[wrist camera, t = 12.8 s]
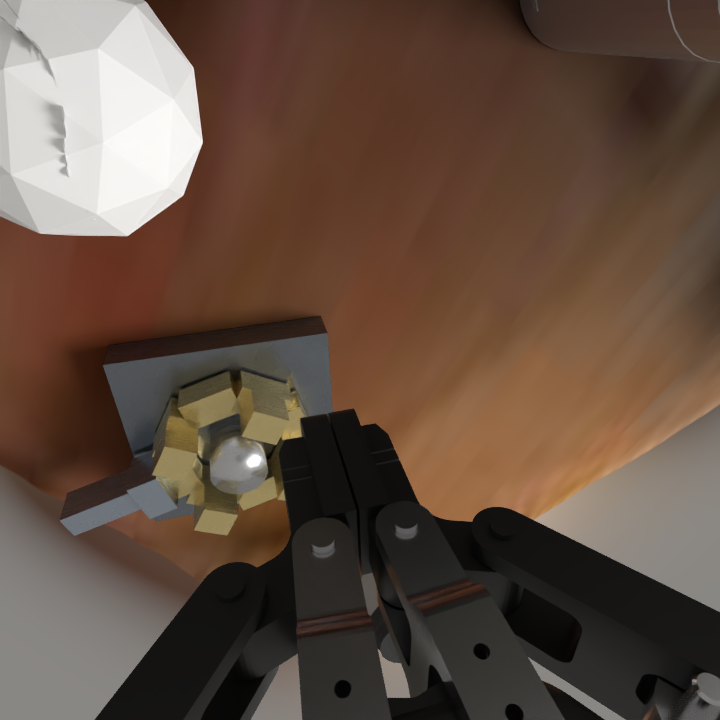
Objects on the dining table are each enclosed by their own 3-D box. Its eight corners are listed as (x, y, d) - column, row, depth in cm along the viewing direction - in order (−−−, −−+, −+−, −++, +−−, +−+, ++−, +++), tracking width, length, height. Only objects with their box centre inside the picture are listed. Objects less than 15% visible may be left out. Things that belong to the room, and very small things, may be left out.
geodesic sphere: (-225, -95, 23) (-217, 153, 18) (87, -194, 23) (164, 23, 19) (9, 141, 36) (44, 315, 32) (201, 74, 37) (261, 236, 33)
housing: (320, 316, 46) (340, 365, 39) (331, 464, 55) (349, 524, 48) (108, 345, 42) (91, 404, 36) (157, 497, 51) (151, 567, 45)
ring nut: (277, 352, 42) (286, 388, 38) (326, 457, 50) (338, 498, 45) (28, 448, 41) (8, 497, 37) (114, 541, 49) (105, 591, 44)
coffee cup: (396, 473, 58) (449, 595, 45) (419, 518, 62) (472, 639, 50) (326, 506, 58) (360, 638, 45) (354, 548, 62) (392, 677, 50)
